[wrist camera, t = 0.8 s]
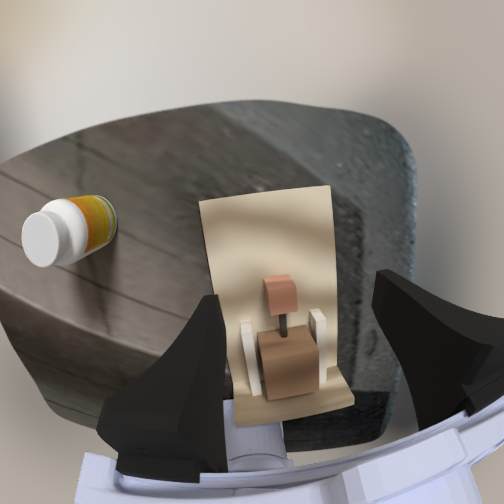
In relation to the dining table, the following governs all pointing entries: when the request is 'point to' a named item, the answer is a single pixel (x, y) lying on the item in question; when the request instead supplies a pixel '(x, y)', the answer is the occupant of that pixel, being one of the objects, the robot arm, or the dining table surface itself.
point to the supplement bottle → (68, 230)
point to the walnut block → (287, 345)
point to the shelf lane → (254, 298)
